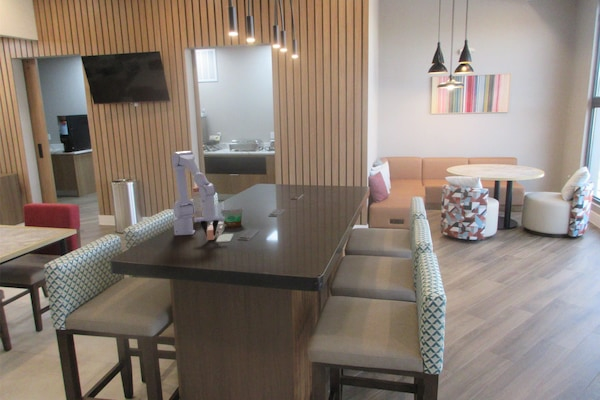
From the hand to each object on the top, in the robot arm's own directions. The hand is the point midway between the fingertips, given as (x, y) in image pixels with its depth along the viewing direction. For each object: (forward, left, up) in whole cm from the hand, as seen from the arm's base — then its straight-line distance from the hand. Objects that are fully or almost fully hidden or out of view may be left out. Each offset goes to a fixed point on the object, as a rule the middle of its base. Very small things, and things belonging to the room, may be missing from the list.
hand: (210, 235), depth 213 cm
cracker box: (-13, +48, -3) cm, 50 cm away
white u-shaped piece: (0, +16, -3) cm, 17 cm away
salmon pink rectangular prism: (0, +3, -2) cm, 3 cm away
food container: (+8, +27, -3) cm, 28 cm away
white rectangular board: (+6, +3, -3) cm, 8 cm away
